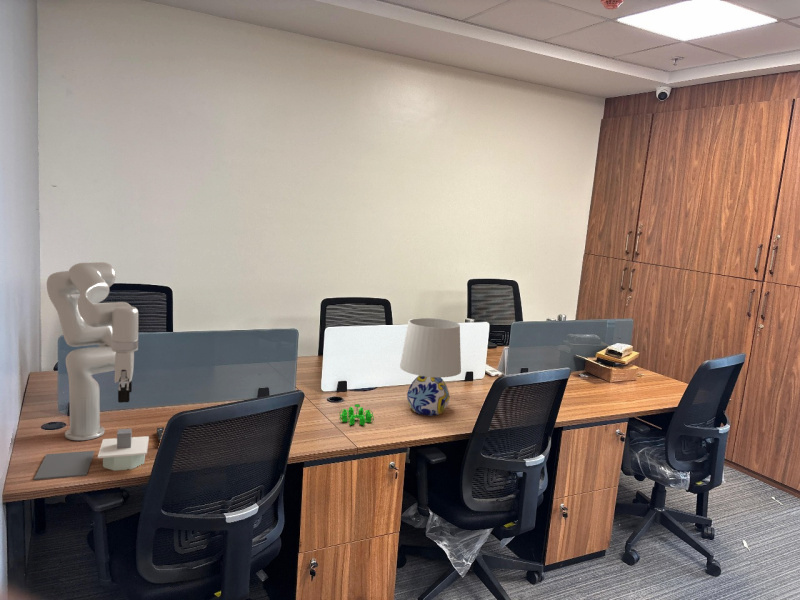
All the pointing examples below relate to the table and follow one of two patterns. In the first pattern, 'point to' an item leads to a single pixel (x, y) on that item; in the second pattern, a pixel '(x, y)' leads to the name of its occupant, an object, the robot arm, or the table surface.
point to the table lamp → (431, 362)
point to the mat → (65, 465)
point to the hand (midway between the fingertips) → (125, 397)
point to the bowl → (123, 462)
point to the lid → (124, 445)
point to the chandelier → (353, 416)
